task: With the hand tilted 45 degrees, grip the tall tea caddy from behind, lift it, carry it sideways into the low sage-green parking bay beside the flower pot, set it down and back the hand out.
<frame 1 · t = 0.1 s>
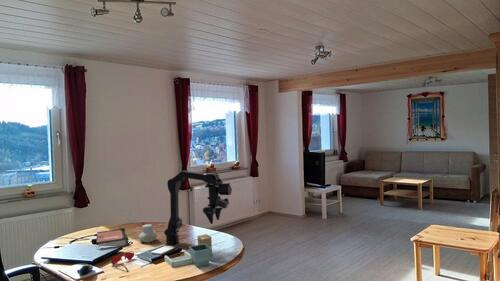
hand: (214, 221, 219), 15 cm above the table, tool pointing down, fingers open, 9 cm apart
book: (111, 242, 238), on the table
air freshener: (148, 241, 235), on the table
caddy: (205, 256, 203), on the table
glasses: (131, 265, 195), on the table
flower pot: (200, 265, 191), on the table
bay: (179, 261, 198), on the table
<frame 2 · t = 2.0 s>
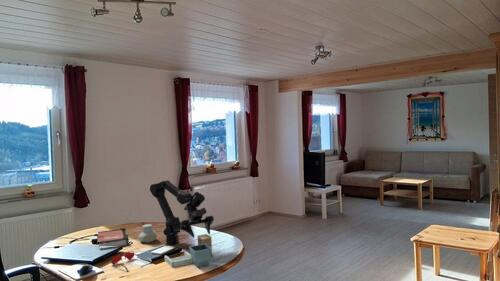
hand: (201, 235, 206), 10 cm above the table, tool tilted 45°, fingers open, 9 cm apart
nothing on the table moved.
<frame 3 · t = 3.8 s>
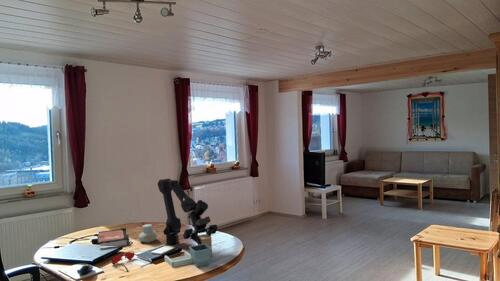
hand: (205, 245, 202), 7 cm above the table, tool tilted 45°, fingers closed on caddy, 5 cm apart
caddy: (205, 256, 203), on the table, touching gripper
everything else where it was.
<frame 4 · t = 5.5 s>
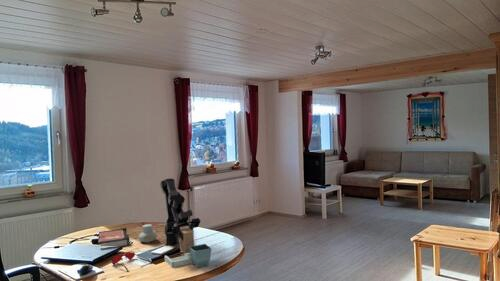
hand: (187, 238, 198), 11 cm above the table, tool tilted 45°, fingers closed on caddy, 5 cm apart
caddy: (187, 250, 199), point 5 cm above the table, touching gripper
everything else where it was.
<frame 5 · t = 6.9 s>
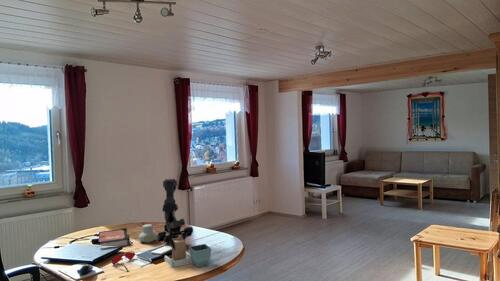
hand: (179, 248, 196), 7 cm above the table, tool tilted 45°, fingers closed on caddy, 5 cm apart
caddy: (179, 260, 198), resting on bay, touching gripper
when the fingers open (7 cm above the table, at t = 7.3 s): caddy stays where it is, resting on bay.
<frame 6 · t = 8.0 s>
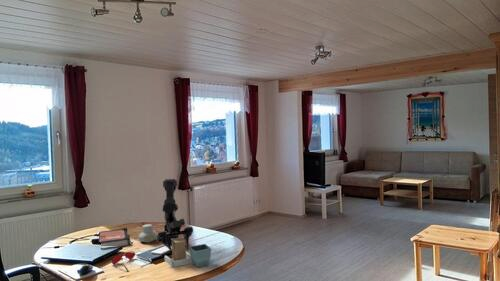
hand: (179, 248, 196), 7 cm above the table, tool tilted 45°, fingers open, 9 cm apart
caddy: (179, 260, 198), resting on bay
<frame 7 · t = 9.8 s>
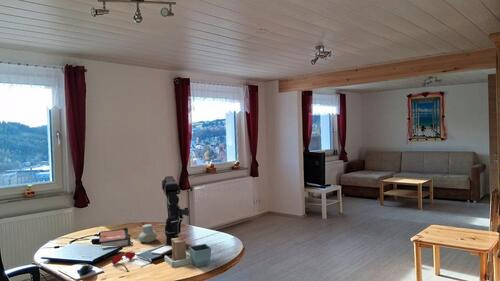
hand: (178, 233, 210), 11 cm above the table, tool pointing down, fingers open, 9 cm apart
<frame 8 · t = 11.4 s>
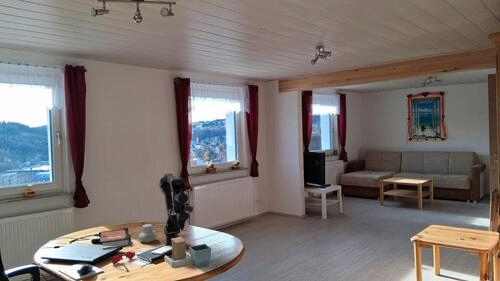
hand: (179, 228, 213), 13 cm above the table, tool pointing down, fingers open, 9 cm apart
at the end: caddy inside the target area on the bay (0.1 cm from its centre), point 0.3 cm above the bay's base; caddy tilted 0°; the gripper is holding nothing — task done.
